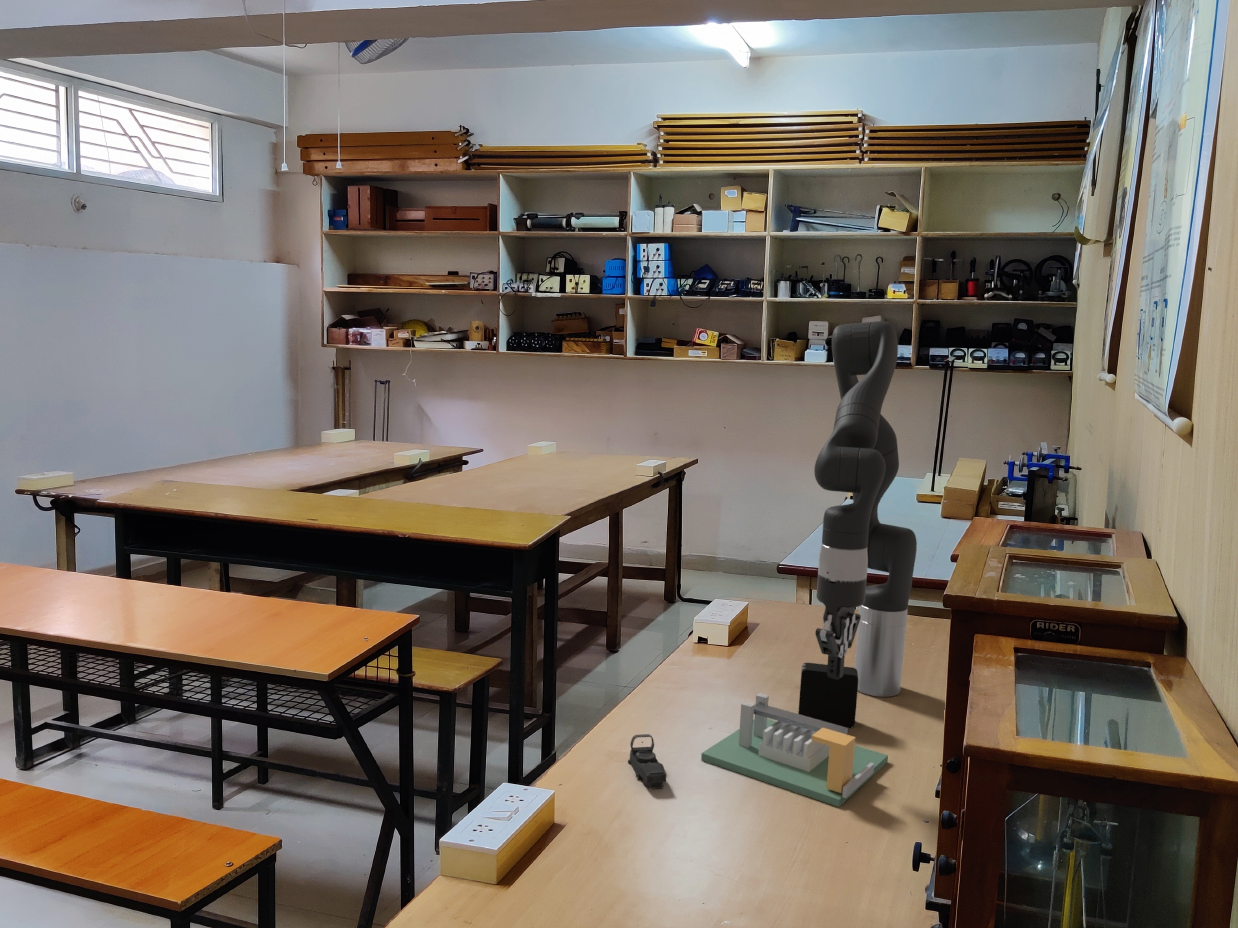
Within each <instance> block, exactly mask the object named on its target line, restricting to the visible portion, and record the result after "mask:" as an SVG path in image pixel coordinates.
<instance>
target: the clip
mask: <svg viewBox="0 0 1238 928" xmlns="http://www.w3.org/2000/svg"><path fill="white" fill-rule="evenodd" d="M811 741H815V742H818V743H821V744H824V745H828V746H830V749H829V762H828V774H827V786H826V788H827V789H830V790H833V791H836V792H839V793H842V792H843V787H844V786H845V785H846V784H847V783H848V782H849V781H851V780H852V773H853V761H854V749H855V745H856V736H852V735H849V734H843V733H840V732H836V731H833V730H830V729H826V728H821V729H820V730H819V731H817V732H816V733H815V734H813V735H812V740H811Z"/></svg>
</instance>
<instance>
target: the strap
mask: <svg viewBox="0 0 1238 928" xmlns="http://www.w3.org/2000/svg"><path fill="white" fill-rule="evenodd" d="M755 703H756V702H755ZM755 703H754V704H753V705H754V715H755V714H756V715H760V716H763V717H767V719H770V720H773V721H776V722H777V721H781V722H784V723H787V724H791V725H794V726H798V727H801V728H805V729H808V730H812V731H815V732H817V731H819V730H820V729H821V728H826V729H830V730H833V731H836V732H840V733H843V734H846V735H848V734H849V733H848V732H849V728H846V727H843V726H839V725H835V724H832V723H828V722H825V721H821V720H818V719H814V718H811V717H807V716H803V715H800V714H798V713H796V712H792V711H789V710H786V709H781V708H779V707H775V706H771V705H769V704H768V705H764V704H762V703H761V702H757V703H756V704H755Z"/></svg>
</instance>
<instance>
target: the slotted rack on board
mask: <svg viewBox="0 0 1238 928" xmlns="http://www.w3.org/2000/svg"><path fill="white" fill-rule="evenodd" d="M769 696H770V695H767V694H763V693H761V692H759V693H757V694H756V695H755V702H754V704H756V703H757V702H761V703H762V704H764V705H768V706H769V698H770V697H769ZM754 704H753V703H749V702H746V701H744V702H742V703H741V704H740V716H739V717H740V718H739V728H738V729H737V730H736V731H734V732H732V733H730V734H728V735H727V736H726V737H724V738H723V739H721V740H720V741H718V742H717V743H715V744H713V745H712V746H710V747H709V748H707V749H706V750H704V751H702V752H701V758H700V760H701V761H703V762H706V763H709V764H712V765H715V766H718V767H721V768H723V769H727V770H729V771H732V772H734V773H738V774H741V775H744V776H747V777H750V778H752V779H756V780H758V781H762V782H764V783H767V784H770V785H773V786H776V787H778V788H782V789H785V790H788V791H790V792H792V793H796V794H799V795H803V796H805V797H808V798H811V799H814V800H817V801H819V802H823V803H825V804H829V805H831V806H833V807H834V806H835V807H837V808H840V807H841V806H842V805H843V804H845V802H847V800H849V799H850V797H852V796H853V795H855V793H856V792H857V791H858V790H859V789H860V788H862V786H863V785H865V784H866V783H867V782H868V781H869V780H870V779H871V778H873V776H874V775H875V774H876V773H877V772H879V771H880V770H881V769H882V768H883V767H884V766H885V765H886V764H887V763H888V761H889V760H888V759H889V755H888V754H886V753H882V752H878V751H876V750H872V749H870V748H866V747H863V746H858V745H856V744H855V749H854V761H853V773H852V780H851V781H849V782H848V783H847V784H846V785H845V786H844V787H843V792H842V793H839V792H836V791H833V790H830V789H827V788H826V786H827V774H828V762H829V749H830V746H828V745H824V744H821V743H818V742H815V741H811V740H812V735H813V734H815V733H816V732H815V731H812V730H808V729H805V728H801V727H798V726H794V725H791V724H787V723H784V722H781V721H777V720H774V719H770V718H767V717H763V716H760V715H756V714H754Z"/></svg>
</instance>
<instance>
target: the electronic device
mask: <svg viewBox="0 0 1238 928" xmlns="http://www.w3.org/2000/svg"><path fill="white" fill-rule="evenodd" d="M827 665H828V664H824V663H816V662H804V663H802V664H801V674H800V675H801V677H800V685H799V686H800V687H799V698H798V699H799V700H798V711H797V712H798V713H797V714H800V715H803V716H807V717H811V718H814V719H818V720H821V721H825V722H828V723H832V724H835V725H839V726H843V727H846V728H848V729H852V728H854V727H855V724H856V713H857V703H858V701H857V700H858V692H859V691H858V672H857V670H856V669H855V668H854V667H852V666H844V672H843V677H841V678H840V679H838V680H836V679H832V678H829V677H828V676H827Z"/></svg>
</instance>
